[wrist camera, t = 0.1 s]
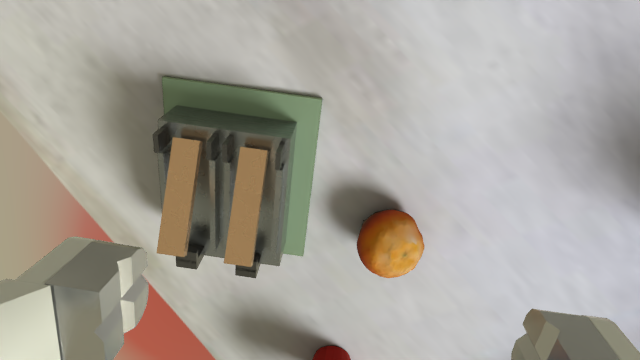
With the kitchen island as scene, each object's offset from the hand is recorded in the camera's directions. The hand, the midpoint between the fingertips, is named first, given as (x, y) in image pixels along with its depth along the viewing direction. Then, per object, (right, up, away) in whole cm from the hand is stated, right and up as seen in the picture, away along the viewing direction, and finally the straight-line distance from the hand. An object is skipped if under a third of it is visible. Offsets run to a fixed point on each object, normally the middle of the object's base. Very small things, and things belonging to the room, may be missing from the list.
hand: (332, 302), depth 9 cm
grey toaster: (-11, +3, +43) cm, 45 cm away
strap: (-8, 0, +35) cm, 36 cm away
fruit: (+9, -4, +46) cm, 46 cm away
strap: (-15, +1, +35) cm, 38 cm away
